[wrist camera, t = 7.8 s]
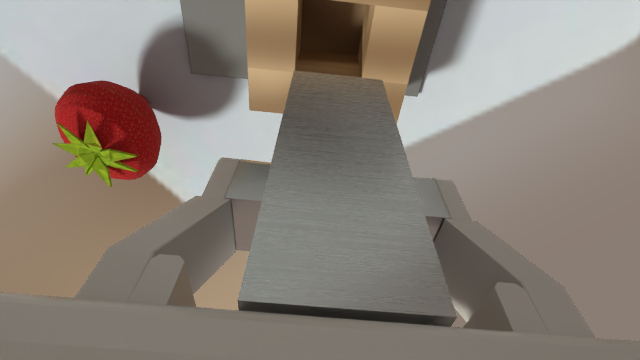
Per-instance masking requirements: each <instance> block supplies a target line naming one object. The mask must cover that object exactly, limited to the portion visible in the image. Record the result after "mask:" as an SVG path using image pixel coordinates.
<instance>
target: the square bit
mask: <svg viewBox="0 0 640 360" xmlns="http://www.w3.org/2000/svg"><path fill="white" fill-rule="evenodd" d="M238 307H239V311H252V312H265V313H278V314H291V315H304V316H316V317H329V318H342V319H355V320H368V321H381V322H394V323H407V324H420V325H433V326H447V327H451V325H452V324H453V322H454V321H455V319H456V318H457V316H456V312H455V309H454V306H453V303H452V300H451V297H450V293H449V290H448V287H447V284H446V281H445V277H444V274H443V271H442V268H441V265H440V262H439V258H438V255H437V252H436V249H435V246H434V243H433V239H432V236H431V233H430V230H429V227H428V224H427V220H426V217H425V214H424V211H423V208H422V204H421V201H420V198H419V195H418V192H417V189H416V185H415V182H414V179H413V176H412V173H411V170H410V167H409V163H408V160H407V157H406V154H405V151H404V147H403V144H402V141H401V138H400V135H399V131H398V128H397V125H396V122H395V119H394V116H393V112H392V109H391V106H390V103H389V100H388V96H387V93H386V90H385V87H384V84H383V81H382V80H380V79H370V78H361V77H351V76H342V75H333V74H323V73H314V72H305V71H295V70H294V72H293V76H292V80H291V84H290V88H289V92H288V96H287V100H286V105H285V109H284V113H283V117H282V121H281V125H280V129H279V133H278V137H277V141H276V146H275V150H274V154H273V158H272V162H271V166H270V170H269V174H268V178H267V182H266V187H265V191H264V195H263V199H262V203H261V207H260V211H259V215H258V219H257V223H256V228H255V232H254V236H253V240H252V244H251V248H250V252H249V256H248V261H247V265H246V269H245V273H244V277H243V281H242V285H241V290H240V293H239V297H238Z"/></svg>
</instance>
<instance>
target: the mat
mask: <svg viewBox="0 0 640 360" xmlns="http://www.w3.org/2000/svg"><path fill="white" fill-rule="evenodd" d="M446 1H447V0H431V2H430V6H429V9H428V13H427V16H426V20H425V23H424V27H423V31H422V34H421V38H420V41H419V45H418V48H417V52H416V56H415V59H414V63H413V66H412V70H411V74H410V77H409V81H408V84H407V88H406V91H405V95H407V96H418V93H419V89H420V86H421V83H422V80H423V76H424V73H425V70H426V67H427V63H428V60H429V57H430V53H431V50H432V47H433V44H434V40H435V37H436V34H437V31H438V27H439V24H440V21H441V18H442V14H443V11H444V8H445V5H446ZM180 3H181V9H182V16H183V22H184V28H185V35H186V41H187V47H188V54H189V60H190V67H191V73H195V74H204V75H214V76H224V77H233V78H243V79H248V63H247V40H246V18H245V0H180Z"/></svg>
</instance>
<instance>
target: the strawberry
mask: <svg viewBox="0 0 640 360" xmlns="http://www.w3.org/2000/svg"><path fill="white" fill-rule="evenodd" d="M55 118H56V123H57V126H58V130H59V132H60V135H61V137H62V139H63V141H64V143H54V145H56V146H58V147H60V148H62V149H64V150H66V151H68V152H70V153H72V154H73V155H75V156H76V157H77V158H76V159H74V160H73V161H72V162H71V163H70V164H69V165H68V166H67V167H83V166H84V167H85V171H86V175H87V176H88V175H90V174H91V173H92V172H93V171H95V172H96V173H97V174H98V175H99V176H100V177H101V178H102V179H103V180H104V181H105V182H106V183H107V184H108V185H109V186H110V187H111V186H112V184H111V178H115V179H125V180H131V179H137V178H140V177H142V176H143V175H144V174H146V173H147V172H148V171H149V170H151V169H152V168H153V167H154V166H155V164H156V163H157V160H158V156H159V151H160V146H161V132H160V128H159V125H158V122H157V119H156V116H155V114H154V112H153V110H152V108H151V106H150V104H149V102H148V100H147V99H146V98H145V97H143V96H142V95H139V94H138V93H136V92H135V91H133V90H131V89H129V88H126V87H123V86H121V85H118V84H115V83H112V82H108V81H94V82H87V83H81V84H75V85H73V86H71V87H69V88H68V89H67V90H66V91H65V92H64V94H63V95H62V97H61V98H60V99H59V101H58V102H57V105H56V107H55ZM110 177H111V178H110Z"/></svg>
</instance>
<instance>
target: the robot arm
mask: <svg viewBox="0 0 640 360" xmlns="http://www.w3.org/2000/svg"><path fill="white" fill-rule="evenodd" d="M270 166H271V163H268V162H259V161H251V160H242V159H241V160H240V159H232V158H221V159H220V160H219V161H218V163H217V165H216V167H215V169H214V171H213V173H212V176H211V178H210V180H209V182H208V184H207V186H206V188H205V191H204V193H203V195H202V196H195V197H193V198H192V199H190V200H188V201H187V202H185V203H183V204H182V205H180V206H179V207H177V208H175V209H173V210H172V211H170V212H168V213H166V214H165V215H163V216H161V217H160V218H158V219H156V220H155V221H153V222H151V223H150V224H148V225H146V226H145V227H143V228H141V229H139V230H138V231H136V232H135V233H133V234H131V235H129V236H128V237H126V238H125V239H123V240H121V241H119V242H118V243H116V244H114V245H113V246H111V247H109V248H108V249H107V251H106V252H105V254H104V255H103V257H102V258H101V259H100V261H99V262H98V264H97V265H96V267H95V268H94V270H93V271H92V273H91V274H90V276H89V277H88V279H87V280H86V282H85V283H84V285H83V286H82V287H81V289H80V290H79V292H78V293H77V295H76V296H75V298H69V297H57V296H56V297H55V296H43V295H29V294H17V293H4V292H0V360H640V341H629V340H617V339H603V338H596V337H595V335H594V334H593V332H592V331H591V329H590V327H589V326H588V324H587V323H586V321H585V319H584V318H583V316H582V315H581V313H580V311H579V310H578V308H577V307H576V305H575V304H574V302H573V300H572V299H571V297H570V296H569V294H568V292H567V291H566V289H565V288H564V286H562V285H561V284H560V283H558V282H557V281H556V280H554V279H553V278H552V277H551V276H549V275H548V274H547V273H545V272H544V271H543V270H541V269H540V268H539V267H537V266H536V265H535V264H533V263H532V262H531V261H529V260H528V259H527V258H525V257H524V256H523V255H521V254H520V253H519V252H517V251H516V250H515V249H513V248H512V247H511V246H510V245H508V244H507V243H506V242H504V241H503V240H502V239H500V238H499V237H498V236H496V235H495V234H493V233H492V232H491V231H490V230H488V229H487V228H486V227H484V226H483V225H482V224H480V223H479V222H478V221H472V220H471V218H470V216H469V213H468V212H467V209H466V207H465V205H464V203H463V201H462V199H461V197H460V195H459V193H458V190H457V188H456V186H455V184H454V182H453V181H452V180H451V179H441V178H421V177H413V179H414V182H415V185H416V189H417V192H418V195H419V198H420V201H421V204H422V208H423V211H424V214H425V217H426V220H427V224H428V227H429V230H430V233H431V236H432V239H433V243H434V246H435V249H436V252H437V255H438V258H439V262H440V265H441V268H442V271H443V274H444V277H445V281H446V284H447V287H448V290H449V293H450V297H451V300H452V303H453V306H454V307H455V309H456V310H457V311H458V312H459V313H460V315H461V316H462V317H463V318H464V319H465V321H466V322H467V323H466V325H465V326H464V327H463V328H460V327H447V326H433V325H420V324H407V323H394V322H381V321H368V320H355V319H342V318H329V317H316V316H304V315H291V314H278V313H265V312H252V311H239V310H225V309H213V308H200V307H196V304H195V300H194V297H193V294H194V293H195V292H196V291H197V290H198V289H199V288H200V287H201V286H202V285H203V284H204V283H205V282H206V281H207V280H208V279H209V278H210V277H211V276H212V275H213V274H214V273H215V272H216V271H217V270H218V269H219V268H220V267H221V266H222V265H223V264H224V263H225V262H226V261H227V260H228V259H229V258H230V257H231V256H232V255H233V254H234V253H235V252H236V250H243V251H250V248H251V244H252V240H253V236H254V232H255V228H256V223H257V219H258V215H259V211H260V207H261V203H262V199H263V195H264V191H265V187H266V182H267V178H268V174H269V170H270Z"/></svg>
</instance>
